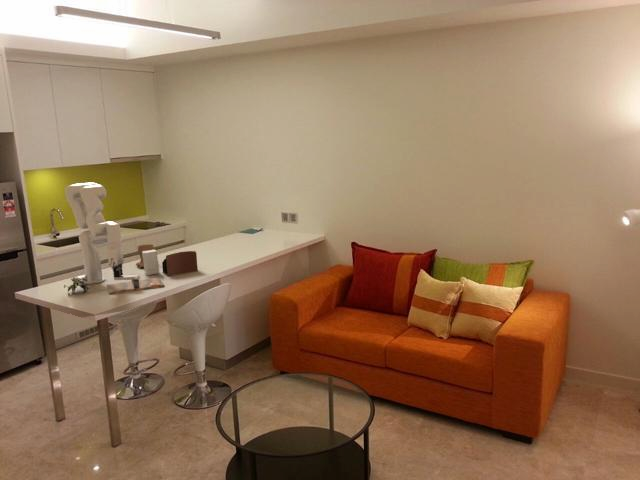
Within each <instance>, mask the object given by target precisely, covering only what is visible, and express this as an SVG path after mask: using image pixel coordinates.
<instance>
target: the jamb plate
mask: <svg viewBox="0 0 640 480" xmlns="http://www.w3.org/2000/svg"><path fill="white" fill-rule="evenodd" d="M134 275H136V273H131V274H130V276H134ZM106 287H107V291H108V293H109V295H110V296H111V295H117V294H123V293H130V292H137V291H138V292H139V291H144V290H150V289H151V288H152V289H157V287H159V288H165V283H164V282H163V281H162V280H161V278H160V277H153V278H145V279H138V280H130V281H123V282H119V283H118V282H117V283H110V284H106ZM152 289H151V290H152Z"/></svg>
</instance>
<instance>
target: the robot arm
mask: <svg viewBox="0 0 640 480" xmlns="http://www.w3.org/2000/svg"><path fill="white" fill-rule="evenodd" d="M64 195H65V197H66V198H65V199H66V201H67V202H68V204H69V206H70V208H71V209H72V213H73V215H74V219H75V222H76V225H77V227H78V228H79V229H80V230H84V231H82V232H80V233H79V234H78V240H79V244H80V249H81V252H82V259H83V267H84V275H81V276H77V277H76V278H77V279H79V280H80V281H82V280H83V279H82V278H81V277H83V278H85V279H86V280H87V281H85V280H83V282H84V283H85V284H87V285H89V284H90V285H92V284H93V285H94V284H100V283H103V282H104V281H106V277H105V276H103V271H102V264H101V263H102V262H101V254H100V251H99V250H98V248H97V247H96V246H98V245H104V244H107V248H108V250H107V259H108V261H107V262H108V266H109V267H110V268H111V269H112V271H113V278H114V277H120V275H119V270H118V266H120V269H121V276H124V275H123V274H124V273H123V263H124V261H125V260H124V251H123V243H122V242H123V241H122V233H121V225H120V223H117V222H114V221H113V220H111V221H106V219H105V217H104V215H103V214H102V211H103V209H104V205H103V203H102V201H101V200H104V199H106V197H107V190H106V188H105V187H104V186H103V185H101V184H98V183H96V182H84V183H83V182H81V183H74V184H70V185H68V186H66V187H65V190H64ZM87 229H88V230H87ZM115 266H116V267H115Z"/></svg>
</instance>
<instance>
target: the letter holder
mask: <svg viewBox="0 0 640 480" xmlns="http://www.w3.org/2000/svg"><path fill="white" fill-rule="evenodd" d="M197 256H198V255H197V251H195V250H190V251H189V250H188V251H187V250H185V251H179V252H175V253H170V254H168V255H166V256H165V258H164V259H163V261H162V262H161V265H162V266H161V268H162V274H164V275H165V276H167V277H171V276H176V275H182V274H188V273H194V272H198V271H199V270H198V258H197Z"/></svg>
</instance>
